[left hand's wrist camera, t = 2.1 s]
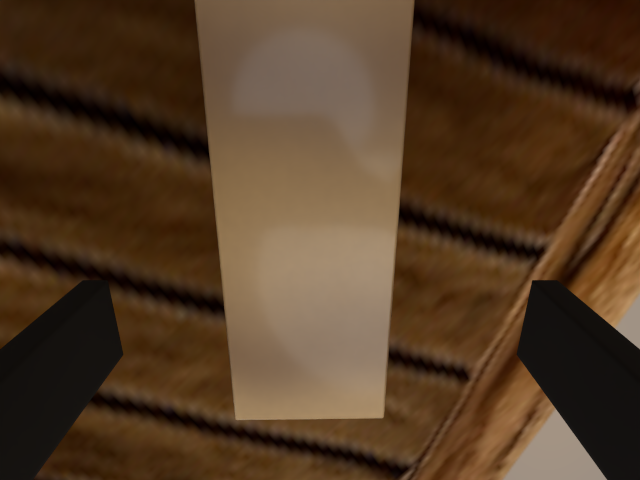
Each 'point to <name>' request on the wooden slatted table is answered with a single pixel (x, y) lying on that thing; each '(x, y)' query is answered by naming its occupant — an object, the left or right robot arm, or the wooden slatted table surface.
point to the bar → (306, 195)
